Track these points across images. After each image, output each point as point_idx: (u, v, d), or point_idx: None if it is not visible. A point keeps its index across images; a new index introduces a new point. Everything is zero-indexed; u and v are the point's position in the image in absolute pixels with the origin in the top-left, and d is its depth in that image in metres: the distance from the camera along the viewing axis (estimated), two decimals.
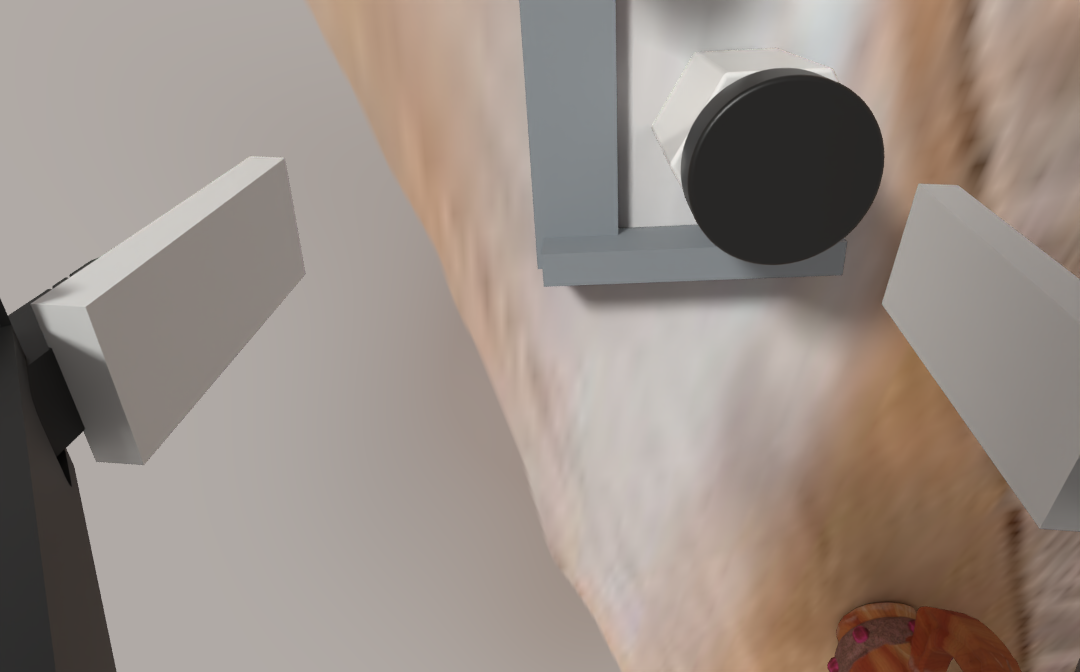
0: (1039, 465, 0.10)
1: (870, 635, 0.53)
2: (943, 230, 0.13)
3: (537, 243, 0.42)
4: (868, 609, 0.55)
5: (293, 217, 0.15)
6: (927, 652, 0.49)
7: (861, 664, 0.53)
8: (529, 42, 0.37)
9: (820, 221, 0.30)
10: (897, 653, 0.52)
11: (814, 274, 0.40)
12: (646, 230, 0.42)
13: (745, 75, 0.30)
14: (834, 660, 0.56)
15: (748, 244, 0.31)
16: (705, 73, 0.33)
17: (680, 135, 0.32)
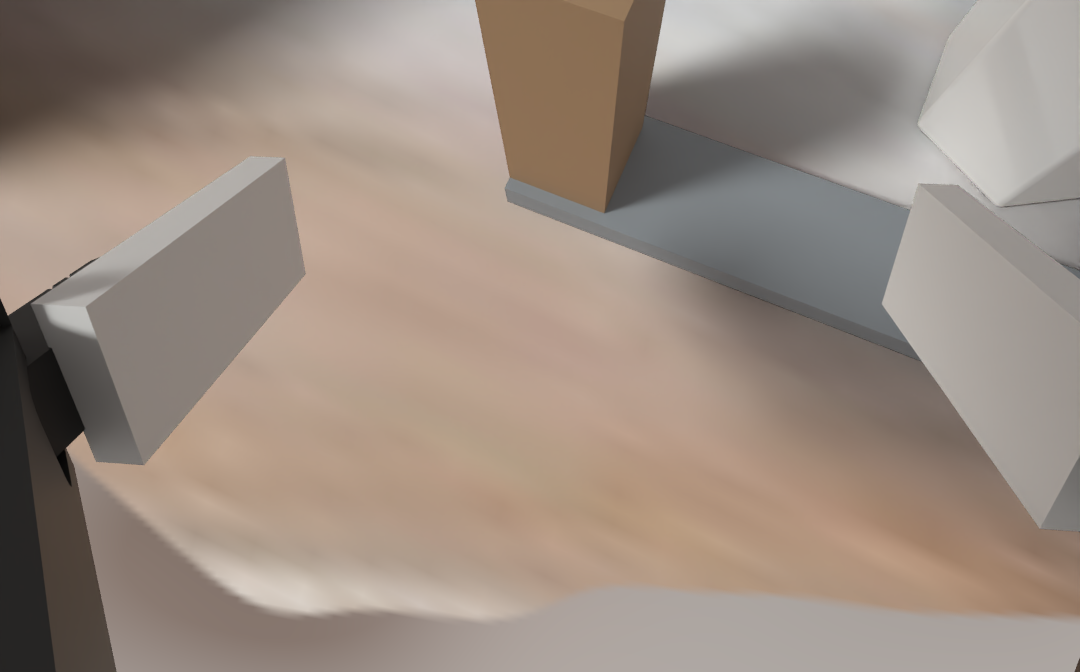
0: (1039, 465, 0.10)
1: None
2: (943, 230, 0.13)
3: None
4: None
5: (293, 217, 0.15)
6: None
7: None
8: (830, 302, 0.26)
9: None
10: None
11: None
12: None
13: None
14: None
15: None
16: (1009, 44, 0.23)
17: None
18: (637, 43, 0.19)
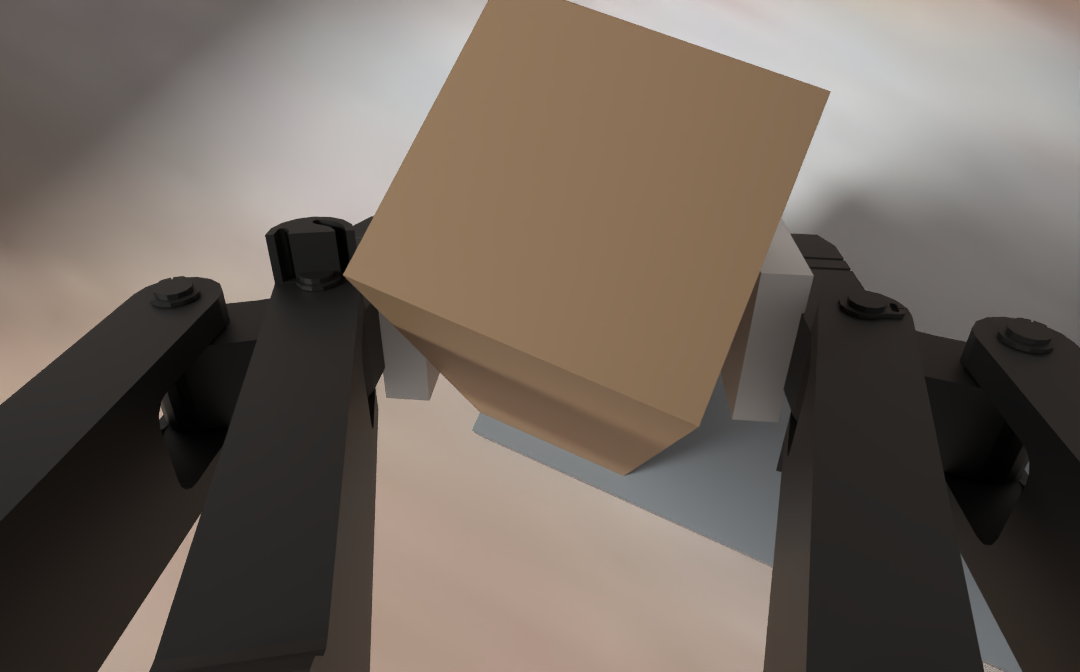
0: (734, 367, 0.12)
1: None
2: None
3: None
4: None
5: None
6: None
7: None
8: (980, 639, 0.16)
9: None
10: None
11: None
12: None
13: None
14: None
15: None
16: None
17: None
18: None
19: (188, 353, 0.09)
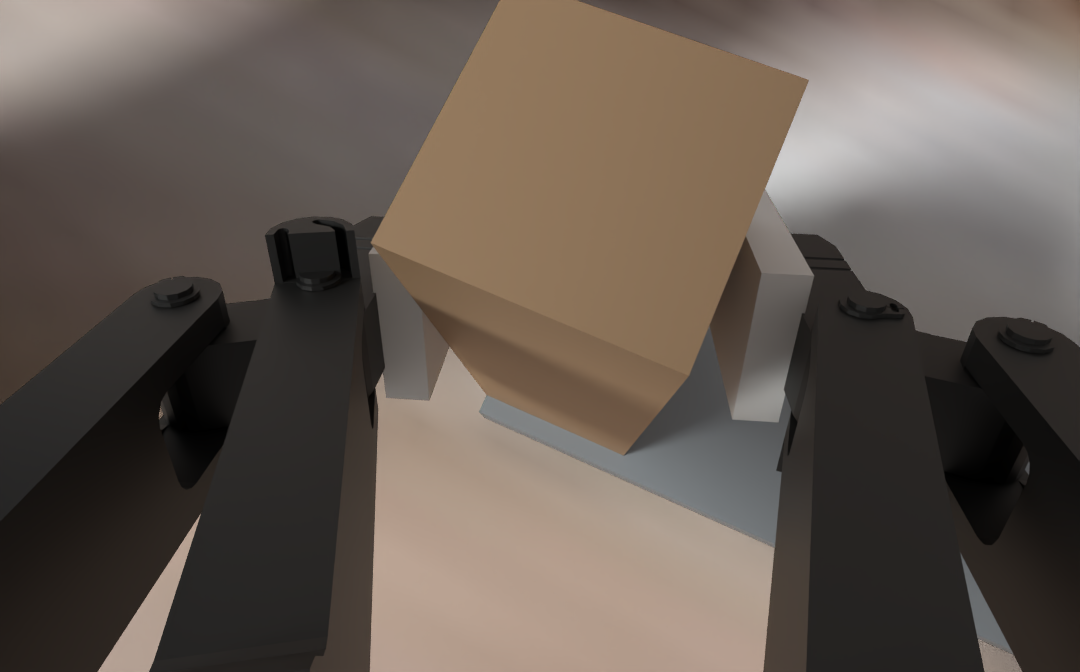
0: (734, 367, 0.12)
1: None
2: None
3: None
4: None
5: None
6: None
7: None
8: None
9: None
10: None
11: None
12: None
13: None
14: None
15: None
16: None
17: None
18: None
19: (188, 353, 0.09)
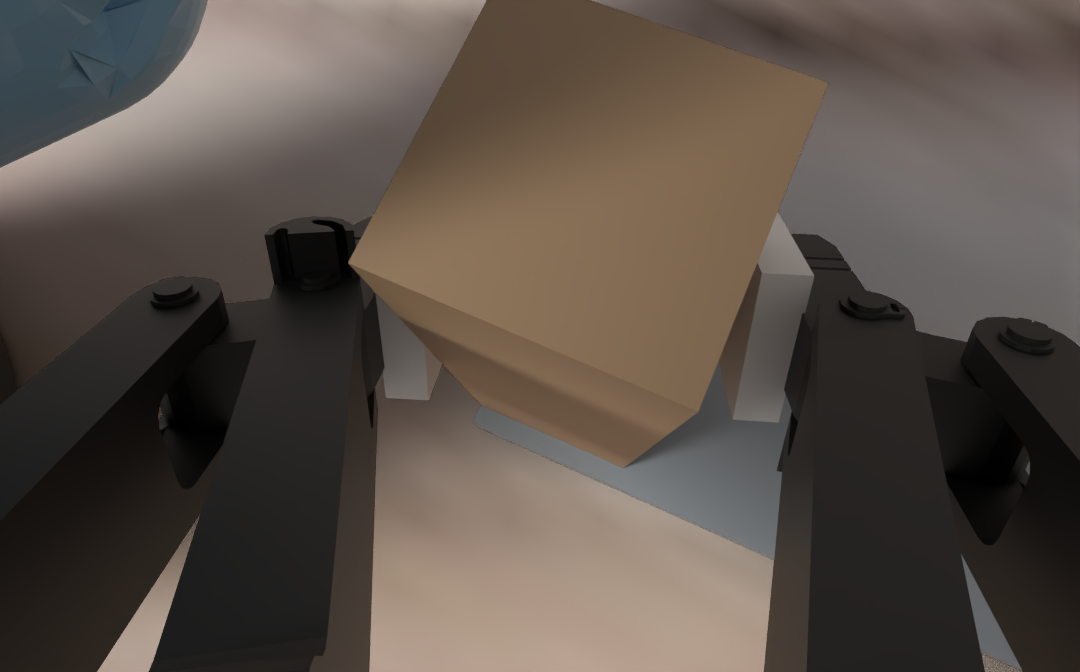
0: (734, 367, 0.12)
1: None
2: None
3: None
4: None
5: None
6: None
7: None
8: (976, 629, 0.16)
9: None
10: None
11: None
12: None
13: None
14: None
15: None
16: None
17: None
18: None
19: (187, 353, 0.09)
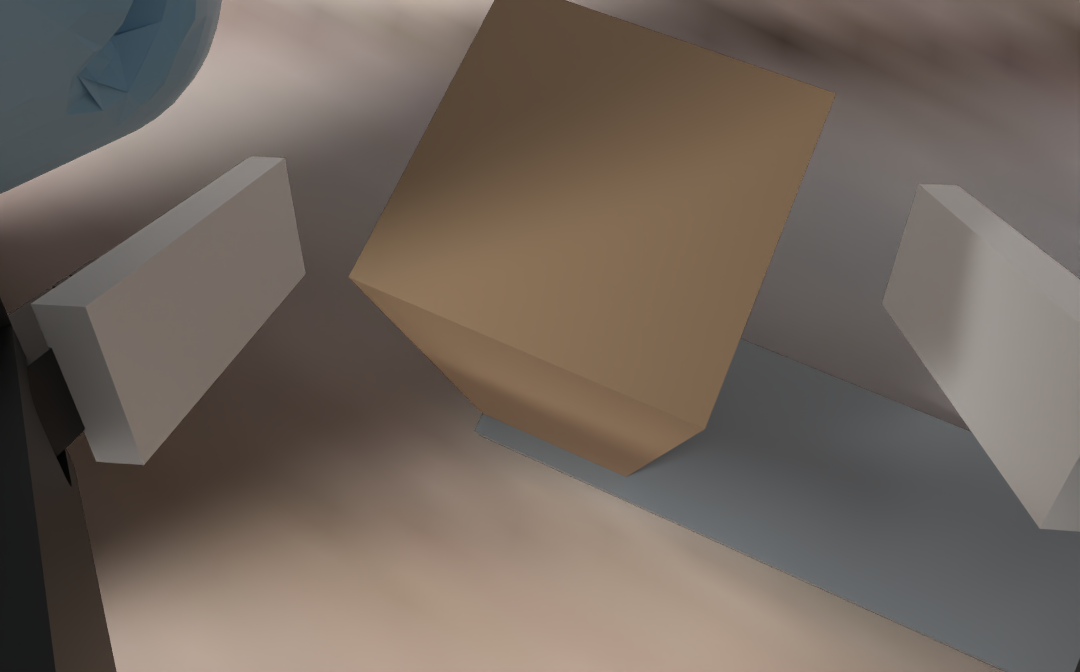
0: (1039, 465, 0.10)
1: None
2: (943, 230, 0.13)
3: None
4: None
5: (293, 217, 0.15)
6: None
7: None
8: (982, 639, 0.16)
9: None
10: None
11: None
12: None
13: None
14: None
15: None
16: None
17: None
18: None
19: None
